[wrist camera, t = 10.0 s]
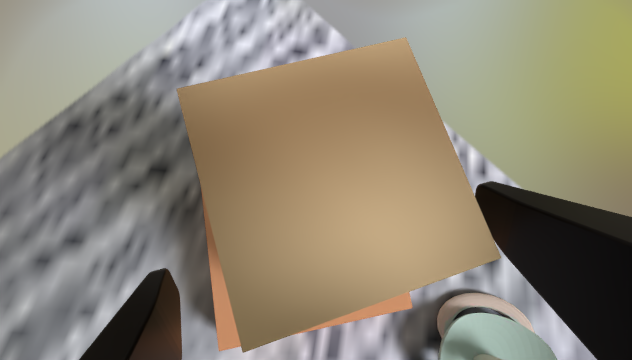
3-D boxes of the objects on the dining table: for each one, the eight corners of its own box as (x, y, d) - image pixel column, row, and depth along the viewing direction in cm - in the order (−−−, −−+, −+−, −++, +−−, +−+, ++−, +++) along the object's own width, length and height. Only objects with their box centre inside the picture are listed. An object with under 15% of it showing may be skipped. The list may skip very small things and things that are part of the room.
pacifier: (430, 281, 22) (418, 382, 20) (488, 280, 16) (478, 425, 14) (535, 307, 22) (533, 409, 20) (630, 316, 16) (639, 462, 15)
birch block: (359, 264, 18) (501, 257, 6) (268, 295, 17) (242, 352, 6) (330, 177, 19) (406, 37, 7) (243, 202, 18) (176, 88, 7)
